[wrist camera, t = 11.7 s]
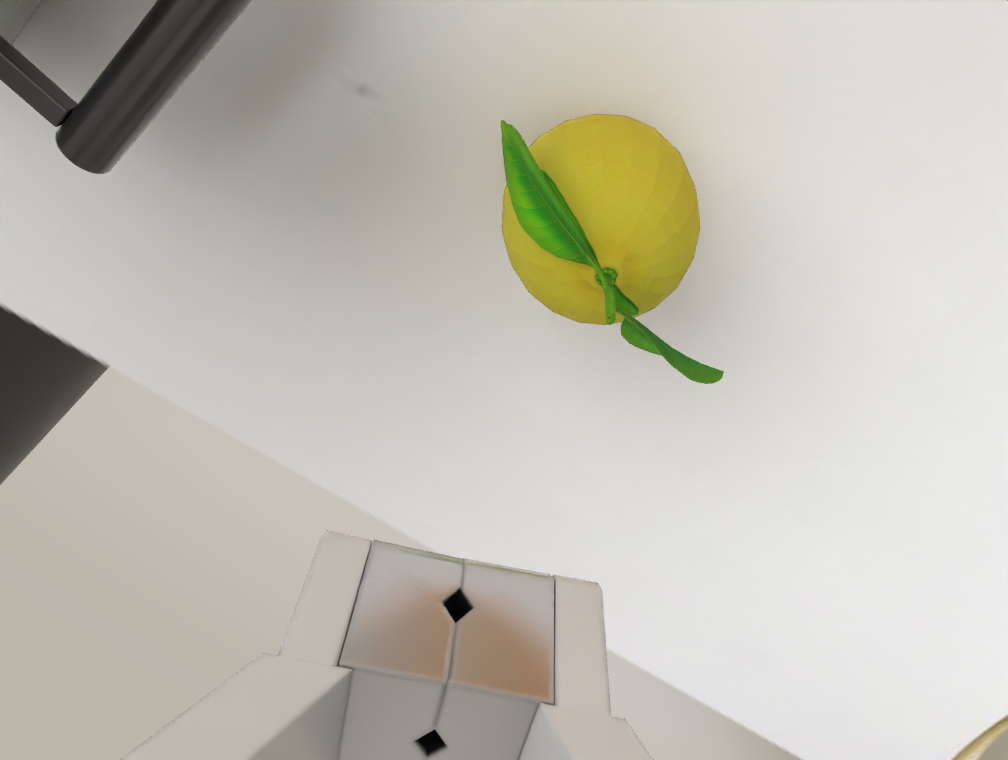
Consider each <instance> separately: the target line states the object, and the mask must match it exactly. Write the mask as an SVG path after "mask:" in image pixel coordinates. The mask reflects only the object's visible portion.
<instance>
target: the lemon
mask: <svg viewBox="0 0 1008 760" xmlns="http://www.w3.org/2000/svg"><path fill="white" fill-rule="evenodd" d="M501 129H502V143H503V156H504V164H505V173H506V181H507V186H506V188H505V190H504V200H503V215H502V233H503V237H504V241H505V244H506V248H507V252H508V255H509V259H510V262H511V264H512V266H513V268H514V270H515V272H516V273H517V275H518V276H519V278H520V279H521V281H522V282H523V284H524V286H525V287H526V289H527V290H528V292H529V293H530V294H531V295H532V296H534V297H535V298H536V299H537V300H539V301H540V302H541V303H542V304H544V305H545V306H546V307H547V308H549V309H550V310H551V311H552V312H554V313H557V314H559V315H562V316H564V317H567V318H569V319H572V320H574V321H577V322H580V323H591V324H601V325H608V324H609V325H611V324H613V323H617V322H622V321H623V322H622V325H621V335H622V336H623V337H624V338H625V339H626V340H627V341H628V342H629V343H630V344H632V345H634V346H635V347H638V348H640V349H643V350H645V351H648V352H651V353H654V354H658V355H662V356H663V357H664V358H665V359H666V360H667V361H668V362H669V363H670V364H671V365H672V366H673V367H674V368H675V369H677V370H678V371H679V372H681V373H682V374H683V375H685V376H686V377H687V378H689V379H690V380H693V381H696V382H700V383H705V384H709V383H715V382H717V381H719V380H720V379H721V378H722V376H723V373H724V372H723V371H721V370H717V369H715V368H712V367H709V366H707V365H704V364H701V363H699V362H697V361H695V360H693V359H691V358H689V357H687V356H685V355H684V354H682V353H680V352H679V351H677V350H675V349H673V348H672V347H671V346H669V345H668V344H667V343H665V342H664V341H663V340H661V339H660V338H659V337H657V336H656V335H655V334H654V333H653V332H651V331H650V330H649V329H648V328H646V327H645V326H644V325H643V324H641V323H640V322H639V321H637V320H636V319H635V317H637V316H639V315H641V314H643V313H646V312H648V311H650V310H652V309H654V308H655V307H656V306H657V305H658V304H660V303H661V302H662V301H663V300H664V299H665V298H666V297H667V296H668V295H670V294H671V293H672V292H673V291H674V290H675V289H676V288H677V287H678V285H679V283H680V281H681V280H682V278H683V276H684V274H685V273H686V271H687V269H688V267H689V265H690V264H691V262H692V260H693V258H694V253H695V249H696V244H697V240H698V235H699V231H700V218H699V210H698V202H697V193H696V189H695V186H694V183H693V181H692V179H691V177H690V175H689V172H688V170H687V168H686V166H685V163H684V161H683V159H682V157H681V155H680V152H679V151H677V150H676V149H675V148H674V147H673V146H672V145H671V144H670V143H669V142H668V141H667V140H666V139H665V138H664V137H663V136H662V135H661V134H660V133H659V132H658V131H657V130H656V129H655V128H653V127H651V126H648V125H646V124H644V123H641V122H639V121H636V120H634V119H632V118H629V117H627V116H616V115H601V114H594V115H590V116H585V117H581V118H576V119H572V120H568V121H565V122H563V123H561V124H560V125H558V126H556V127H555V128H553V129H551V130H550V131H548V132H546V133H545V134H543V135H541V136H540V137H539V138H538V139H537V140H536V141H535V142H534V143H533V144H532V145H531V146H530V147H529V148H528V147H527V146H526V144H525V142H524V140H523V139H522V137H521V135H520V134H519V132H518V131H517V130H516V129H515V128H514V127H513V126H512V125H510V124H507V123H506V122H505V121H504V120H503V121H501Z"/></svg>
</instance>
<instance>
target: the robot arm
mask: <svg viewBox="0 0 1008 760" xmlns="http://www.w3.org/2000/svg"><path fill="white" fill-rule="evenodd" d="M120 760H653V758H652V756H651V755H650V754H649V752H648V751H647V749H646V748H645V746H644V745H643V744H642V742H641V741H640V739H639V738H638V736H637V735H636V734H635V732H634V731H633V729H632V728H631V726H630V725H629V724H628V722H627V721H626V719H622V718H618V717H613V716H611V708H610V694H609V680H608V666H607V652H606V638H605V624H604V610H603V596H602V590H601V588H600V586H599V584H598V583H596V582H590V581H585V580H579V579H574V578H568V577H563V576H557V575H553V576H551V575H550V574H546V573H540V572H535V571H529V570H524V569H518V568H513V567H507V566H502V565H496V564H491V563H485V562H480V561H475V560H469V559H464V558H463V559H460V558H456V557H451V556H446V555H442V554H437V553H433V552H428V551H423V550H419V549H414V548H410V547H405V546H400V545H396V544H391V543H387V542H382V541H378V540H373V541H372V540H367V539H363V538H359V537H355V536H350V535H346V534H341V533H337V532H332V531H328V530H326V532H325V533H324V535H323V536H322V538H321V539H320V541H319V544H318V546H317V549H316V552H315V555H314V557H313V560H312V563H311V566H310V569H309V571H308V574H307V577H306V580H305V582H304V585H303V588H302V591H301V593H300V596H299V599H298V602H297V604H296V607H295V610H294V613H293V615H292V618H291V621H290V624H289V627H288V629H287V632H286V635H285V638H284V640H283V643H282V646H281V649H280V651H279V654H278V655H273V654H265V653H263V654H261V655H260V656H258V657H257V658H256V659H254V660H253V661H252V662H250V663H249V664H248V665H246V666H245V667H244V668H242V669H241V670H240V671H238V672H237V673H236V674H234V675H233V676H232V677H230V678H229V679H228V680H226V681H225V682H223V683H222V684H221V685H220V686H218V687H217V688H215V689H214V690H213V691H211V692H210V693H209V694H207V695H206V696H205V697H203V698H202V699H201V700H199V701H198V702H197V703H195V704H194V705H193V706H191V707H190V708H189V709H187V710H186V711H185V712H184V713H182V714H181V715H179V716H178V717H177V718H175V719H174V720H173V721H171V722H170V723H168V724H167V725H166V726H164V727H163V728H162V729H161V730H159V731H158V732H156V733H155V734H154V735H153V736H151V737H150V738H148V739H147V740H146V741H144V742H143V743H142V744H140V745H139V746H138V747H136V748H135V749H134V750H132V751H131V752H130V753H128V754H127V755H126V756H124V757H123V758H122V759H120Z"/></svg>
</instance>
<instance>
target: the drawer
mask: <svg viewBox="0 0 1008 760" xmlns="http://www.w3.org/2000/svg"><path fill="white" fill-rule="evenodd" d="M41 1H42V0H0V79H1V80H2V81H3V82H4V83H5V84H6V85H7V86H9V87H10V88H11V89H12V90H13V91H14V92H16V93H17V94H18V95H19V96H20V97H21V98H22V99H24V100H25V101H26V102H27V103H28V104H29V105H31V106H32V107H33V108H34V109H35V110H36V111H37V112H39V113H40V114H41V115H42V116H43V117H44V118H46V119H47V120H48V121H49V122H50V123H51V124H52V125H54V126H55V127H58V126H60V125H61V127H60V128H59V129H58V131H57V132H56V143H57V146H58V148H59V149H60V151H61V152H62V153H63V154H64V155H65V156H66V158H68V159H69V160H70V161H71V162H72V163H74V164H75V165H77V166H78V167H80V168H82V169H84V170H86V171H88V172H91V173H95V174H104V173H107V172H109V171H110V170H111V169H112V168H113V167H114V166H115V164H116V163H117V162H118V161H119V160H120V158H121V157H122V156H123V155H124V154H125V152H126V151H127V150H128V149H129V148H130V146H131V145H132V144H133V143H134V142H135V140H136V139H137V138H138V137H139V136H140V134H141V133H142V132H143V131H144V130H145V128H146V127H147V126H148V125H149V124H150V122H151V121H152V120H153V119H154V118H155V116H156V115H157V114H158V113H159V111H160V110H161V109H162V108H163V107H164V105H165V104H166V103H167V102H168V101H169V99H170V98H171V97H172V96H173V95H174V93H175V92H176V91H177V90H178V89H179V87H180V86H181V85H182V84H183V83H184V81H185V80H186V79H187V78H188V77H189V75H190V74H191V73H192V72H193V71H194V69H195V68H196V67H197V66H198V65H199V63H200V62H201V61H202V60H203V59H204V57H205V56H206V55H207V54H208V53H209V51H210V50H211V49H212V48H213V47H214V45H215V44H216V43H217V42H218V41H219V39H220V38H221V37H222V36H223V35H224V33H225V32H226V31H227V30H228V29H229V27H230V26H231V25H232V24H233V23H234V21H235V20H236V19H237V18H238V17H239V15H240V14H241V13H242V12H243V10H244V9H245V8H246V7H247V6H248V4H249V3H250V2H251V1H252V0H158V1H157V2H156V3H155V5H154V6H153V7H152V8H151V10H150V11H149V12H148V14H147V15H146V16H145V18H144V19H143V20H142V21H141V23H140V24H139V25H138V27H137V28H136V29H135V31H134V32H133V33H132V34H131V36H130V37H129V38H128V40H127V41H126V42H125V44H124V45H123V46H122V47H121V49H120V50H119V51H118V53H117V54H116V55H115V57H114V58H113V59H112V60H111V62H110V63H109V64H108V66H107V67H106V68H105V70H104V71H103V72H102V73H101V75H100V76H99V77H98V79H97V80H96V81H95V83H94V84H93V85H92V86H91V88H90V89H89V90H88V92H87V93H86V94H85V96H84V97H83V98H82V99H81V101H80V102H79V103H78V104H77V103H76V102H75V101H74V100H73V99H72V98H70V97H69V96H68V95H67V94H66V93H65V92H64V91H63V90H61V89H60V88H59V87H58V86H57V85H56V84H55V83H54V82H52V81H51V80H50V79H49V78H48V77H47V76H46V75H45V74H43V73H42V72H41V71H40V70H39V69H38V68H37V67H36V66H34V65H33V64H32V63H31V62H30V61H29V60H28V59H27V58H25V57H24V56H23V55H22V54H21V53H20V52H19V51H18V50H16V49H15V48H14V47H13V46H12V45H11V44H12V43H13V41H14V40H15V39H16V37H17V36H18V34H19V33H20V31H21V30H22V28H23V27H24V26H25V24H26V23H27V21H28V20H29V18H30V17H31V15H32V14H33V13H34V11H35V10H36V8H37V7H38V5H39V4H40V2H41Z"/></svg>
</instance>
